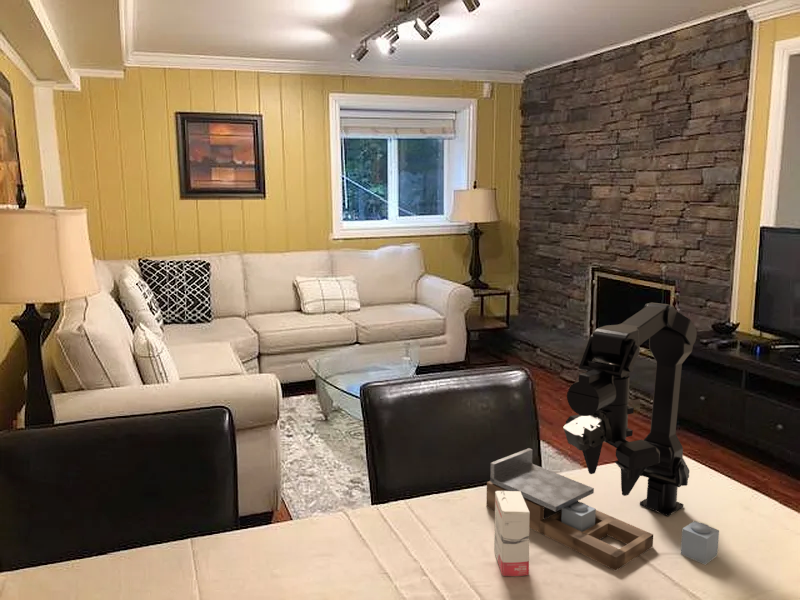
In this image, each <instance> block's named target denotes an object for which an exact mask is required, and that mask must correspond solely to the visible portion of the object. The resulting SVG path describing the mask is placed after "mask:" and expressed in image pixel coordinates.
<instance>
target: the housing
mask: <svg viewBox="0 0 800 600" xmlns="http://www.w3.org/2000/svg"><path fill="white" fill-rule="evenodd" d="M496 491H509V490H507V489H505V488H502V487H500V486H498V485H496V484H494V483H491V482H490V480H489V481H487V482H486V504H485V505H486V507H487V508H489V509H491V510H493V511H495V492H496ZM523 498H524V497H523ZM524 501H525V503H526V505H527V507H528V510H529V512H530V519H529V529H531V530H533V531H535V532H537V533H539V534H541V535H543V536H544V537H547V538H549V539H551V540H553V541H555V542H557V543H559V544H561V545H562V546H565V547H567V548H569V549H571V550H572V551H575V552H577V553H579V554H580V555H583V556H585V557H587V558H589V559H592V560H593V561H595V562H596V563H599V564H601V565H603V566H605V567H607V568H609V569H610V570H613V571H618V570H619V569H620V568H622V567H624V566H626V565H627V564H629V563H630V562H632V561H633V560H634V559H637V558H638V557H639V556H641V555H642V554H644V553H645V552H648V551H649V550H651V549H652V548H653V547H654V546H653V545H654V533H650V532H648V531H647V530H644V529H642V528H639V527H637V526H634V525H632V524H630V523H629V522H628V523H627V522H625V521H623V520H621V519H618V518H616V517H614V516H611V515H609V514H607V513H604V512H603V511H600V510H597V509H596V514H595V525H594V526H592V527H591V528H589V529H587V530H585V531H583V532H581V531H579V530H577V529H575V528H573V527H571V526H569V525H566V524H564V523H562V522H561V518H562V509H560V510H558V511H556V512H555V513H553V514H551V515H549V516H547V517H545V507H544V506H542V505H540V504H537V503H535V502H533V501H531V500H529V499H527V498H524ZM606 537H610V538H613V539H614V540H617V541H620V542H621V543H623V544H625V545H624V546H622V547H620V548H618V547H615V546H613V545H611V544H609V543H607V542H605V541H603V540H601V539H605V538H606Z"/></svg>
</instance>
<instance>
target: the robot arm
mask: <svg viewBox="0 0 800 600" xmlns="http://www.w3.org/2000/svg"><path fill="white" fill-rule="evenodd" d="M697 333H698V332H697V329H696V327H695V324H694V323H693V322H692V320H691V319H690V318H689V317H687V316H685V315H684V314H682V313H680V312H678V311H677V309H676V308H675V306H672V305H671V304H667V303H658V302H649V303H645V305H644V306H643V308H641V310H639V311H638V312H636V313H635V314H633V315H632V316H630V317H628V318H626V320H624V321H623V322H622V323H619V324H611V325H610V324H608V325H607V324H606V325H603V326H600V327H598V328H596V329H595V330H594V331H593V333H592V334H591V335H590V337H589V339H588V341H587V345H586V346H585V347H586V348H585V350H584V353H583V354H582V357H581V361H580V363H579V370H583V371H586V372H582V373H579V374H578V381H576V382H573V383H572V384H571V385H570V386H569V388H568V391H567V392H566V399H567V403H568V405H569V407H570V408H571V409H572V411H573V412H574V413H575V415H570V416H568V418H567V419H566V421H565V424H564V426H562V427H563V432H564V434H565V437H566V441H567V443H568V445H571V446H573V447H575V448H576V449H577V450H579V451H582V454H583V458H584V462H585V465H586V467H587V468H586V469H587V471H588V474H590V475H593V474H596V471H597V468H598V465H599V460H600V456H601V453H602V447H603V444H604V443H607V444H608V445H611V446H612V447H613V448H616V449H615V457H616V459H617V460H615V461H614V463H615V464H616V465H617V466H618V468H619V469H620V485H621V486H620V488H621V495H622V496H623V497H625V496H626V497H627V496H629V495H630V493H631V491H632V490H633V489H634V487H635V485H636V484H637V481H638V480H639V478H640V477H644V478H647V487H646V498H645V499H642V500H640V501H639V505H640V506H642V507H644V508H647V509H648V510H649V509H650V510H652V511H654V512H657V513H659V514H662V515H664V516H670V515H672V514H674V513H676V512H677V511H679V510H680V509H682V508H684V504H683V503H682V502H680V501H677V500H678V488H680V487H682V486H684V487H685V486H686V487H687V486H688V482H689V481H688V480H689V478H690V468H689V466H688V464H687V463H686V461H685V459H684V458H683V457H684V455H683V453H684V447H683V445H682V443H681V441H680V438H678V435H677V421H678V410H679V400H680V389H681V380H682V379H681V378H682V369H683V363H684V362H685V361H686V359H687V358H688V357H689V356H690V355H691V353H692V352H693V347H694V344H695V343H696V340H697V336H698V335H697ZM647 340H648V341H649V342H648V345H649V346H648V348H649V351H650V353H651V354H652V356H653V359H654V360H655V362H656V364H655V376H654V386H653V387H654V388H653V399H652V411H651V421H650V430H649V433H648V434H647V435H646V436H645V437H644V439H638V440H632V441H629V440H627V438H628V437H633V435H634V434H633V429H631V428H629V427H628V426H629V425H628V420H629V415H632V414H634V412H635V411H634V409H635V408H634V407H633V406H631V405H629V404H630V403H629V402H630V399H629V398H630V381H631V379H630V378H631V377H630V375H631V374H630V373H632V372H633V371H634V369H635V368H634V365H635V362H636V360H637V359H638V358H639V357H638V356H639V355H640V351H641V350H640V346H641V345H642V344H643V343H644V342H646V341H647Z"/></svg>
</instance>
